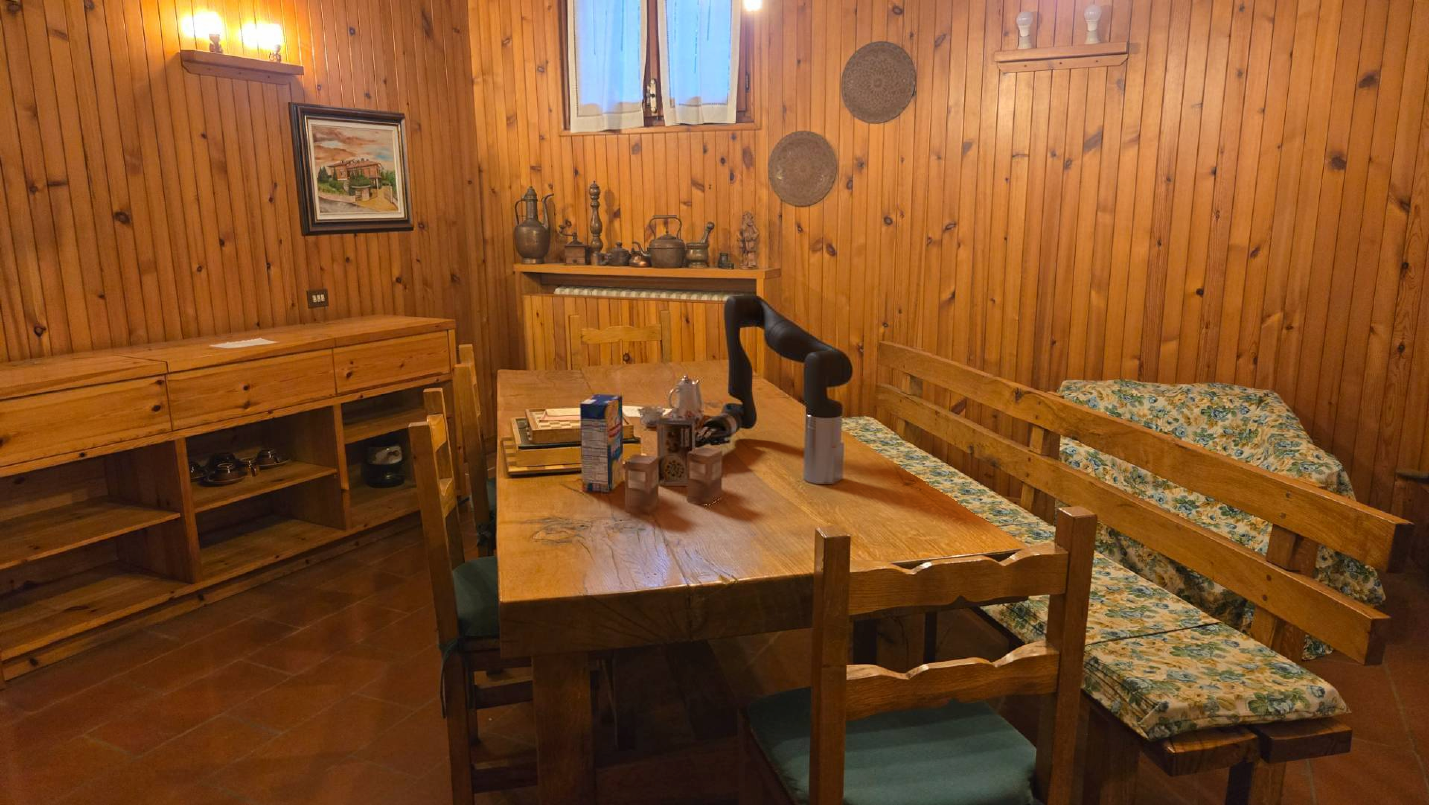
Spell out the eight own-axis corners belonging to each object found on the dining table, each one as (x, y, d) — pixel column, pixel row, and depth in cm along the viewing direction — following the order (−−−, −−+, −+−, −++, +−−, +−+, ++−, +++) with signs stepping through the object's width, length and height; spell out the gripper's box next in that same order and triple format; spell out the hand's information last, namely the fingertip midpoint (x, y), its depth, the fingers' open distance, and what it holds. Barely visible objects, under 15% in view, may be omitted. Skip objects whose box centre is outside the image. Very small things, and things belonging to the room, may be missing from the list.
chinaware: (688, 416, 312) (684, 366, 309) (728, 419, 302) (724, 367, 299) (630, 432, 290) (626, 379, 288) (671, 436, 280) (667, 381, 277)
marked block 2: (722, 499, 224) (723, 450, 221) (709, 506, 219) (709, 457, 216) (700, 494, 227) (700, 446, 224) (686, 501, 222) (686, 453, 219)
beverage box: (581, 491, 229) (579, 403, 224) (597, 478, 239) (596, 393, 234) (608, 493, 227) (607, 405, 222) (623, 480, 237) (622, 395, 233)
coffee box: (696, 479, 239) (696, 417, 235) (692, 487, 233) (693, 424, 229) (660, 477, 240) (660, 416, 236) (656, 485, 234) (656, 422, 230)
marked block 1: (660, 506, 219) (659, 456, 216) (651, 515, 213) (650, 464, 210) (634, 503, 220) (633, 454, 218) (624, 512, 214) (623, 462, 212)
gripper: (697, 413, 263) (673, 427, 247) (742, 417, 258) (720, 432, 242) (697, 439, 264) (673, 455, 248) (741, 444, 260) (720, 460, 244)
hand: (696, 444), depth 245 cm, fingers closed
